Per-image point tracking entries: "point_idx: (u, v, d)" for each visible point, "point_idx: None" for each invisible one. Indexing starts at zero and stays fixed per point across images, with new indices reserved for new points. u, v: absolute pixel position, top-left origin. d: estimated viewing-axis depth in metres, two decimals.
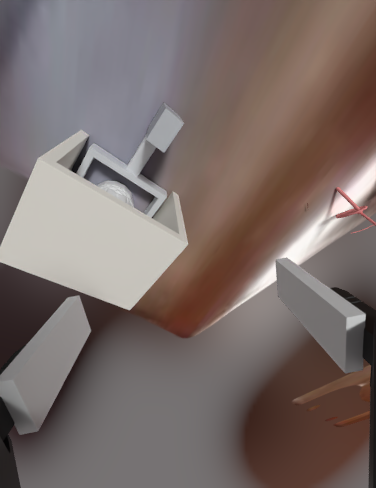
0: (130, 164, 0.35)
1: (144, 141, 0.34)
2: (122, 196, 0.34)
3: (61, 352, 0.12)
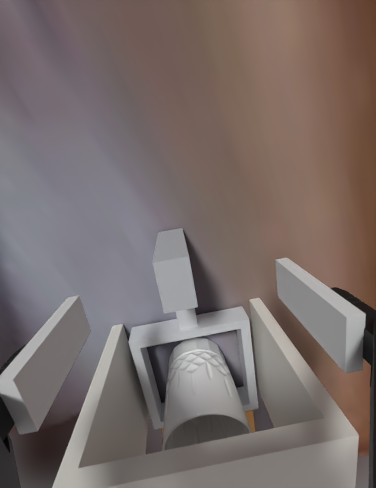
0: (180, 321, 0.25)
1: None
2: (199, 370, 0.23)
3: (61, 352, 0.12)
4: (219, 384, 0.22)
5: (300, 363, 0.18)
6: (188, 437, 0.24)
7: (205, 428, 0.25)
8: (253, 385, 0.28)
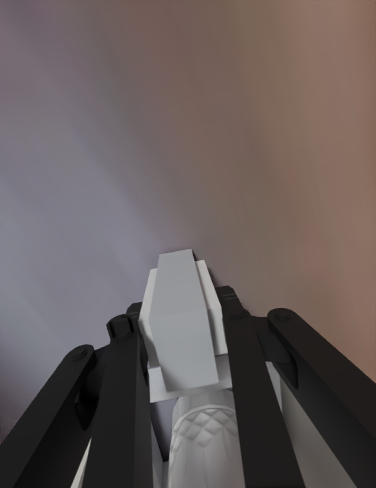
0: None
1: None
2: (214, 443, 0.17)
3: None
4: None
5: None
6: None
7: None
8: None
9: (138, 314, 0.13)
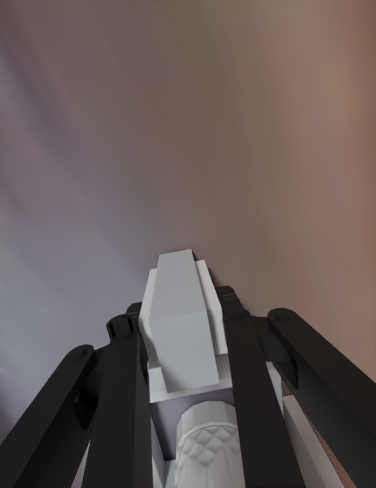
0: None
1: None
2: (216, 462, 0.18)
3: None
4: None
5: None
6: None
7: None
8: None
9: (138, 314, 0.13)
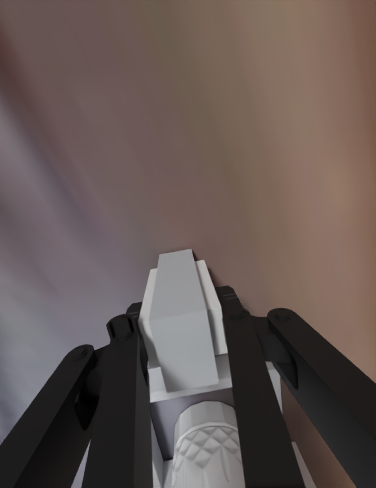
0: None
1: None
2: (212, 463, 0.18)
3: None
4: None
5: None
6: None
7: None
8: None
9: (138, 314, 0.13)
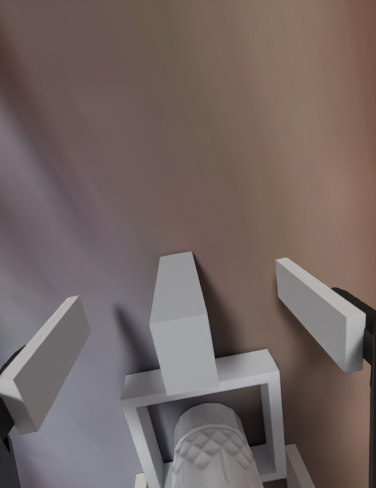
0: None
1: None
2: (213, 465, 0.18)
3: (61, 352, 0.12)
4: None
5: None
6: None
7: None
8: (281, 450, 0.22)
9: None
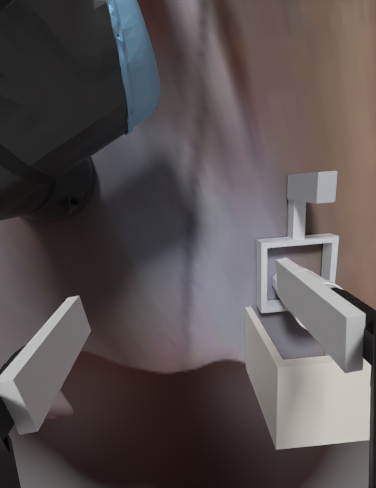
0: (294, 233, 0.39)
1: (295, 209, 0.38)
2: None
3: (61, 352, 0.12)
4: (322, 277, 0.36)
5: None
6: None
7: None
8: None
9: None
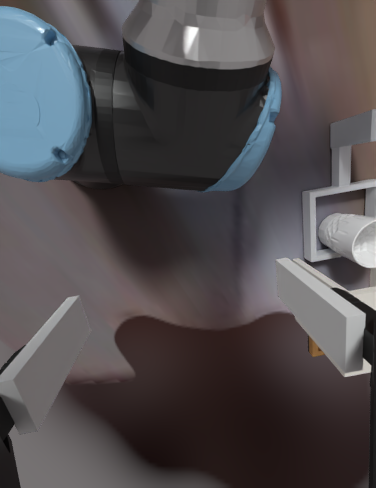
0: (340, 180, 0.41)
1: (340, 156, 0.40)
2: (357, 215, 0.39)
3: (61, 352, 0.12)
4: None
5: None
6: None
7: (357, 256, 0.41)
8: None
9: None
